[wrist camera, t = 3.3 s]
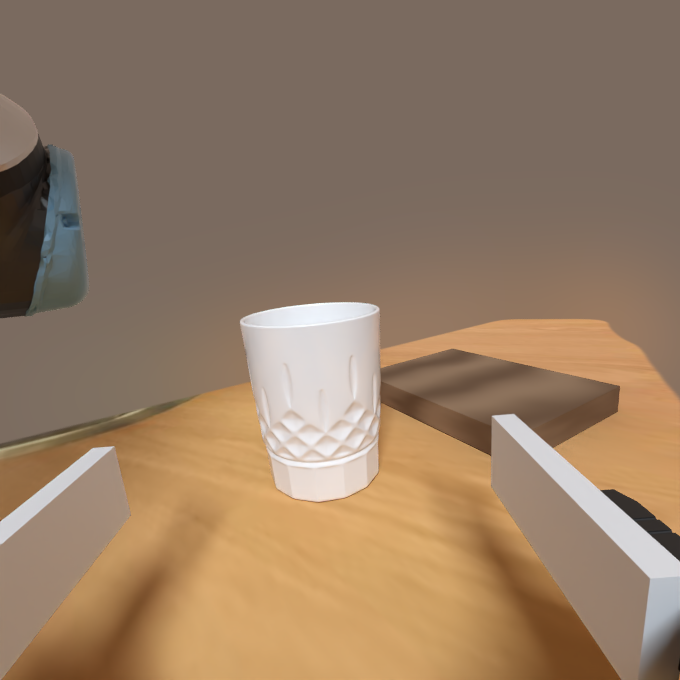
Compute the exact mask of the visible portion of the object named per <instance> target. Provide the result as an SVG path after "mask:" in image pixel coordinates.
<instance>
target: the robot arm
mask: <svg viewBox="0 0 680 680" xmlns="http://www.w3.org/2000/svg"><path fill="white" fill-rule="evenodd" d="M88 291H89V279H88V269H87V259H86V250H85V242H84V233H83V225H82V217H81V208H80V200H79V191H78V184H77V177H76V170H75V163H74V157H73V155H72V154H71V153H70V152H69V151H67V150H65V149H60V148H57V147H56V146H53V145H48V146H45V147H43V146H42V143H41V140H40V137H39V134H38V131H37V128H36V126H35V124H34V122H33V120H32V118H31V117H30V115H29V114H28V113H27V112H26V111H25V110H24V109H23V108H22V107H20V106H19V105H18V104H16V103H15V102H13V101H12V100H10V99H8V98H7V97H5V96H4V95H2V94H0V318H7V317H17V316H32V315H34V314H35V313H39V312H45V311H51V310H57V309H62V308H69V307H72V306H74V305H77V304H78V303H80V302H81V301H83V299H84V298H85V297H86V296H87V294H88ZM491 487H492V488H493V490H494V491H495V493H496V494H497V496H498V497H499V499H500V500H501V502H502V503H503V505H504V506H505V508H506V509H507V511H508V512H509V514H510V515H511V517H512V518H513V520H514V521H515V523H516V524H517V526H518V527H519V529H520V530H521V531H522V533H523V534H524V536H525V537H526V539H527V540H528V542H529V543H530V545H531V546H532V548H533V549H534V551H535V552H536V554H537V555H538V557H539V558H540V560H541V561H542V563H543V564H544V566H545V567H546V569H547V570H548V572H549V573H550V575H551V576H552V578H553V579H554V580H555V582H556V583H557V585H558V586H559V588H560V589H561V591H562V592H563V594H564V595H565V597H566V598H567V600H568V601H569V603H570V604H571V606H572V607H573V609H574V610H575V612H576V613H577V615H578V616H579V618H580V619H581V621H582V622H583V624H584V625H585V626H586V628H587V629H588V631H589V632H590V634H591V635H592V637H593V638H594V640H595V641H596V643H597V644H598V646H599V647H600V649H601V650H602V652H603V653H604V655H605V656H606V658H607V659H608V661H609V662H610V664H611V665H612V667H613V668H614V670H615V671H616V673H617V674H618V675H619V677H620V678H621V680H679V674H680V536H679V535H677V534H676V533H672V531H671V529H670V528H669V527H668V526H666V525H665V524H664V523H663V522H661V521H660V520H657V519H656V517H655V516H654V515H653V514H652V513H650V512H649V511H648V510H647V509H646V508H644V507H643V506H642V505H641V504H639V503H638V502H637V501H635V500H633V499H631V498H629V497H627V496H625V495H623V494H621V493H619V492H618V491H616V490H614V489H612V490H599V489H598V488H597V487H595V486H594V485H593V484H592V483H591V482H590V481H589V480H588V479H586V478H585V477H584V476H583V475H582V474H581V473H580V472H579V471H577V470H576V469H575V468H574V467H573V466H572V465H571V464H570V463H568V462H567V461H566V460H565V459H564V458H563V457H562V456H561V455H560V454H558V453H557V452H556V451H555V450H554V449H553V448H552V447H551V446H549V445H548V444H547V443H546V442H545V441H544V440H543V439H542V438H540V437H539V436H538V435H537V434H536V433H535V432H534V431H533V430H531V429H530V428H529V427H528V426H527V425H526V424H525V423H524V422H522V421H521V420H520V419H519V418H518V417H517V416H516V415H515V414H507V415H495V416H492V441H491ZM130 516H131V513H130V509H129V505H128V500H127V496H126V492H125V488H124V484H123V479H122V475H121V471H120V467H119V463H118V458H117V454H116V450H115V446H112V447H100V448H92V449H91V450H90V451H88V452H87V453H86V454H85V455H83V456H82V457H81V458H80V459H78V460H77V461H76V462H75V463H73V464H72V465H71V466H70V467H68V468H67V469H66V470H65V471H63V472H62V473H61V474H60V475H58V476H57V477H56V478H54V479H53V480H52V481H51V482H49V483H48V484H47V485H46V486H44V487H43V488H42V489H41V490H39V491H38V492H37V493H36V494H34V495H33V496H32V497H31V498H29V499H28V500H27V501H26V502H24V503H23V504H22V505H21V506H19V507H18V508H17V509H15V510H14V511H13V512H12V513H10V514H9V515H8V516H7V517H5V518H4V519H3V520H2V521H0V680H2V678H3V677H4V676H5V675H6V673H7V672H8V671H9V670H10V668H11V667H12V666H13V664H14V663H15V662H16V661H17V659H18V658H19V657H20V656H21V654H22V653H23V652H24V650H25V649H26V648H27V647H28V645H29V644H30V643H31V642H32V640H33V639H34V638H35V636H36V635H37V634H38V633H39V631H40V630H41V629H42V628H43V626H44V625H45V624H46V622H47V621H48V620H49V619H50V617H51V616H52V615H53V614H54V612H55V611H56V610H57V608H58V607H59V606H60V605H61V603H62V602H63V601H64V600H65V598H66V597H67V596H68V594H69V593H70V592H71V591H72V589H73V588H74V587H75V586H76V584H77V583H78V582H79V580H80V579H81V578H82V577H83V575H84V574H85V573H86V572H87V570H88V569H89V568H90V567H91V565H92V564H93V563H94V561H95V560H96V559H97V558H98V556H99V555H100V554H101V553H102V551H103V550H104V549H105V547H106V546H107V545H108V544H109V542H110V541H111V540H112V539H113V537H114V536H115V535H116V533H117V532H118V531H119V530H120V528H121V527H122V526H123V525H124V523H125V522H126V521H127V519H128V518H129V517H130Z"/></svg>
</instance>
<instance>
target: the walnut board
mask: <svg viewBox="0 0 680 680" xmlns="http://www.w3.org/2000/svg"><path fill="white" fill-rule="evenodd" d="M380 372H381V386H380V401H381V402H382V403H384V404H386V405H388V406H390V407H392V408H394V409H397V410H399V411H401V412H403V413H405V414H407V415H409V416H411V417H413V418H415V419H417V420H419V421H421V422H423V423H425V424H427V425H430V426H432V427H434V428H436V429H438V430H440V431H442V432H444V433H446V434H448V435H450V436H452V437H454V438H456V439H458V440H460V441H463V442H465V443H467V444H469V445H471V446H473V447H475V448H477V449H479V450H481V451H483V452H485V453H487V454H489V455H491V441H492V416H495V415H507V414H515V415H516V416H517V417H518V418H519V419H520V420H521V421H522V422H524V423H525V424H526V425H527V426H528V427H529V428H530V429H531V430H533V431H534V432H535V433H536V434H537V435H538V436H539V437H540V438H542V439H543V440H544V441H545V442H546V443H547V444H548V445H549V446H551V447H552V448H553V447H555V446H557V445H558V444H560V443H562V442H564V441H566V440H567V439H569V438H571V437H573V436H575V435H576V434H578V433H580V432H582V431H583V430H585V429H587V428H589V427H591V426H592V425H594V424H596V423H598V422H600V421H601V420H603V419H605V418H607V417H609V416H610V415H612V414H614V413H616V412H618V402H619V391H620V386H617V385H612V384H608V383H604V382H599V381H595V380H590V379H586V378H581V377H577V376H572V375H568V374H563V373H559V372H554V371H550V370H545V369H541V368H536V367H532V366H528V365H523V364H519V363H514V362H510V361H505V360H501V359H496V358H492V357H487V356H483V355H478V354H474V353H469V352H465V351H460V350H456V349H450V350H446V351H442V352H439V353H435V354H431V355H428V356H424V357H420V358H417V359H413V360H409V361H406V362H402V363H398V364H395V365H391V366H388V367H384V368H380Z"/></svg>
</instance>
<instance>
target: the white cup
mask: <svg viewBox="0 0 680 680" xmlns="http://www.w3.org/2000/svg"><path fill="white" fill-rule="evenodd" d="M240 327H241V332H242V337H243V342H244V347H245V352H246V358H247V363H248V369H249V374H250V380H251V385H252V391H253V396H254V399H255V402H256V408H257V414H258V419H259V423H260V426H261V432H262V438H263V441H264V443H265V445H266V448H267V453H268V459H269V465H270V470H271V475H272V477H273V480H274V483H275V485H276V488H277V489H278V490H280V491H282V492H283V493H285V494H287V495H288V496H290V497H292V498H293V499H299V500H306V501H313V502H323V501H329V500H335V499H341V498H346V497H348V496H350V495H352V494H354V493H356V492H358V491H360V490H362V489H364V488H366V487H367V486H368V485H369V484H370V482H371V481H372V480H373V479H374V477H375V476H376V475H377V473H378V471H379V463H378V437H379V433H378V431H379V428H380V406H381V401H380V386H381V372H380V309H379V307H378V306H376V305H372V304H367V303H353V302H344V303H343V302H342V303H341V302H340V303H320V304H319V303H318V304H307V305H298V306H290V307H283V308H277V309H271V310H266V311H262V312H258V313H255V314H251V315H249V316H246V317H244V318H242V319H241V320H240Z"/></svg>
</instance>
